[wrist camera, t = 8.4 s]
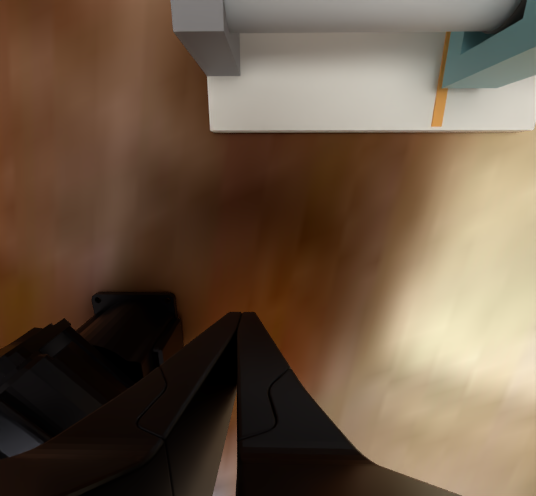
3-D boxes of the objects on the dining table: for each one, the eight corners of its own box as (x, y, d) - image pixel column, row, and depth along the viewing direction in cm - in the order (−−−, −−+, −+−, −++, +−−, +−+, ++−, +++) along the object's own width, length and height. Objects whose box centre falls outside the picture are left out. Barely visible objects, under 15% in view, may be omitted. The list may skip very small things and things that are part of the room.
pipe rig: (214, 132, 18) (180, 115, 12) (203, -59, 15) (151, -229, 9) (516, 132, 18) (660, 113, 11) (565, -64, 15) (798, -245, 8)
